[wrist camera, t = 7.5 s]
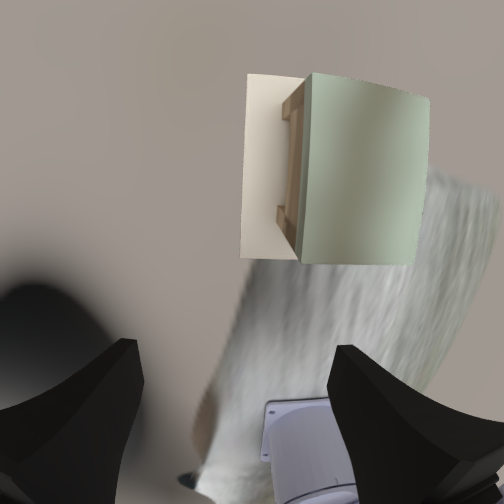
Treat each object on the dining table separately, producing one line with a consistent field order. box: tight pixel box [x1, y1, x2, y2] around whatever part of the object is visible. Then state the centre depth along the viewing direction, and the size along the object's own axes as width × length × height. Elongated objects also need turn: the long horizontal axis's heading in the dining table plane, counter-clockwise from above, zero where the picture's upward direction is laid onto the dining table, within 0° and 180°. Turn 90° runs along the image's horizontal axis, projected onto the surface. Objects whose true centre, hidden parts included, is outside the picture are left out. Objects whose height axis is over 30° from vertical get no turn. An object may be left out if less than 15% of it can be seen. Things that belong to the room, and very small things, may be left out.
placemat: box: [240, 74, 305, 260], centre depth 17 cm, size 11×9×1 cm
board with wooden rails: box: [276, 72, 430, 265], centre depth 13 cm, size 5×7×7 cm
